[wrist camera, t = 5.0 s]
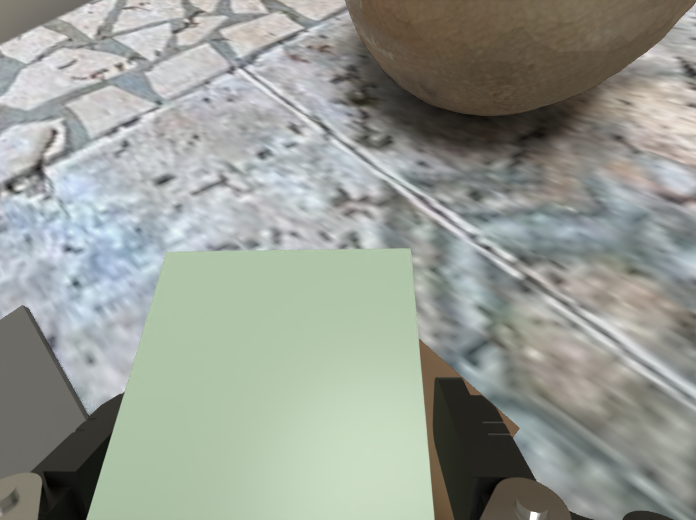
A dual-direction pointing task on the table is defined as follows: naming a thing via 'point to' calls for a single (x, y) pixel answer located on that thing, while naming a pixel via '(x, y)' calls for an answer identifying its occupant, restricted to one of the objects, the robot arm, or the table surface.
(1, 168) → the table surface
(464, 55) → the ceramic bowl
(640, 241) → the table surface
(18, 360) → the mat
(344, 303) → the sage green tall block
